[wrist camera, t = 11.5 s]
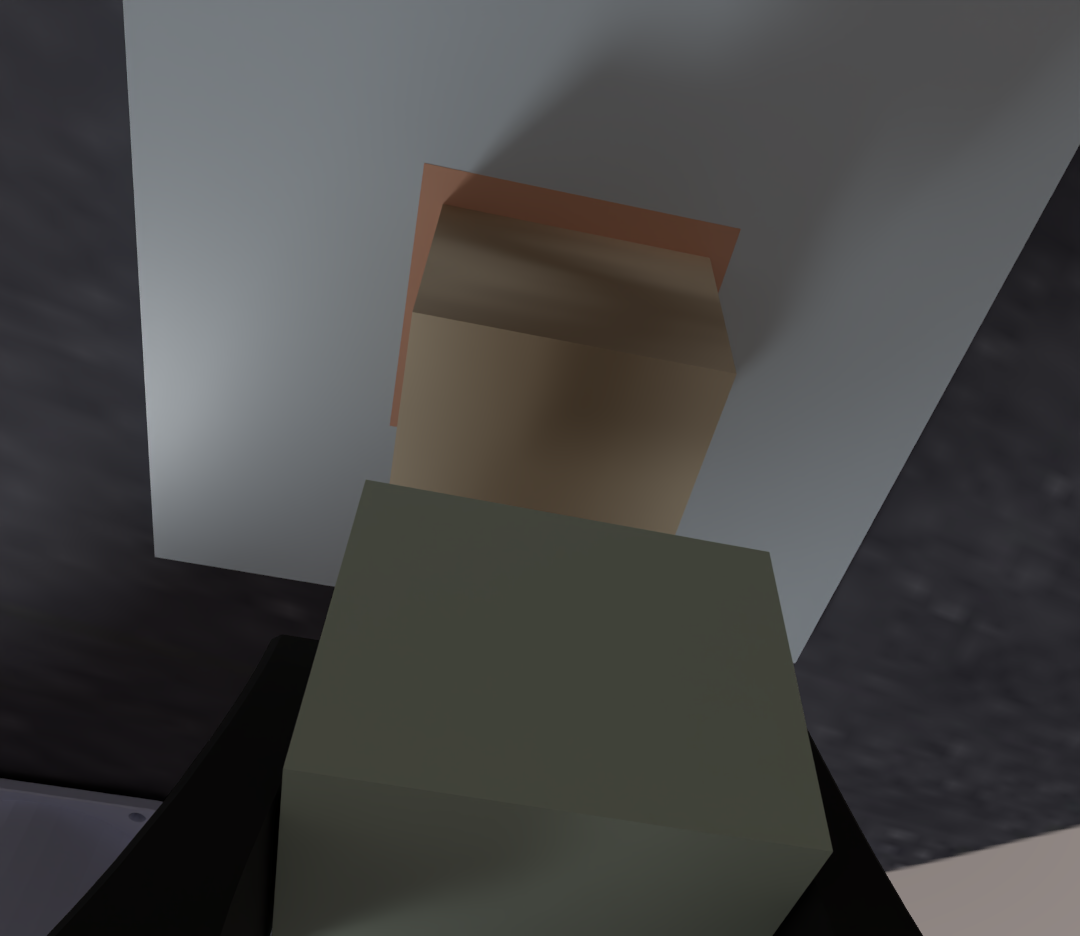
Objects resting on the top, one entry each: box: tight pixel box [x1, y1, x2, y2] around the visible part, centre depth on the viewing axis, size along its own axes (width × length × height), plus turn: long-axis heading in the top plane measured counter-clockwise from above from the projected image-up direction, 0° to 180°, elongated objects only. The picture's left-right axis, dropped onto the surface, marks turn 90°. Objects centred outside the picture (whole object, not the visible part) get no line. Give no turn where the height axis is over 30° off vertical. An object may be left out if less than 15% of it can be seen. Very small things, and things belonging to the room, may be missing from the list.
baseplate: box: [123, 0, 1080, 663], centre depth 20 cm, size 16×16×1 cm
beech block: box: [389, 204, 737, 535], centre depth 18 cm, size 5×5×4 cm
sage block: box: [272, 480, 833, 936], centre depth 12 cm, size 5×5×4 cm
